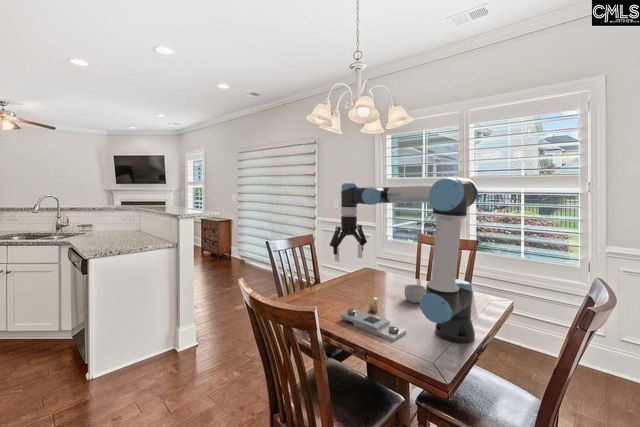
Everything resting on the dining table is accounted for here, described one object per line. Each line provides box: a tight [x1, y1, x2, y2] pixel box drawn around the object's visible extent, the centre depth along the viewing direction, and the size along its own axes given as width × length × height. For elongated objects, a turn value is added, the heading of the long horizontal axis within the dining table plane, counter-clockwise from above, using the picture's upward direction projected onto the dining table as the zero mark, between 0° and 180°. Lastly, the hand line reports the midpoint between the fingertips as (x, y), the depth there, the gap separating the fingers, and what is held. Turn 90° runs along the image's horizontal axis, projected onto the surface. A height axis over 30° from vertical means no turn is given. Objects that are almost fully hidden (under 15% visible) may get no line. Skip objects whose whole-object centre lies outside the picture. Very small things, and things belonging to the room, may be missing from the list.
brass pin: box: [368, 296, 378, 315], centre depth 158 cm, size 4×4×7 cm
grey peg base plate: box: [339, 307, 407, 342], centre depth 142 cm, size 28×10×4 cm, turn 46°
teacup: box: [403, 284, 426, 304], centre depth 172 cm, size 14×11×8 cm
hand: (348, 259), depth 157 cm, fingers open, 13 cm apart
